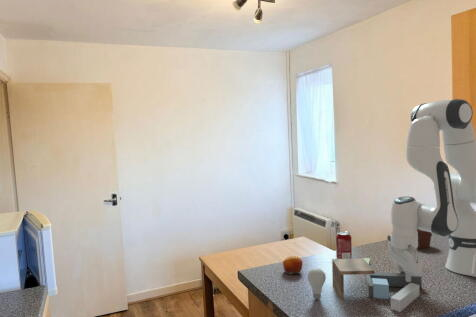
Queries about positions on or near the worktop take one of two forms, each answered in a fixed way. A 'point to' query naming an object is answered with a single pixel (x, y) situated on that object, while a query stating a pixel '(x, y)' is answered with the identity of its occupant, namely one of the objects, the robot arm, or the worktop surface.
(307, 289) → the worktop surface
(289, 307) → the worktop surface
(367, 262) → the pale green stick
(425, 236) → the muffin
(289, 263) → the fruit
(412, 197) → the robot arm
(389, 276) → the hook tool
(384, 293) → the block
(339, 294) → the shelf
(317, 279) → the lightbulb
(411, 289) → the grey stick
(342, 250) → the soda can
